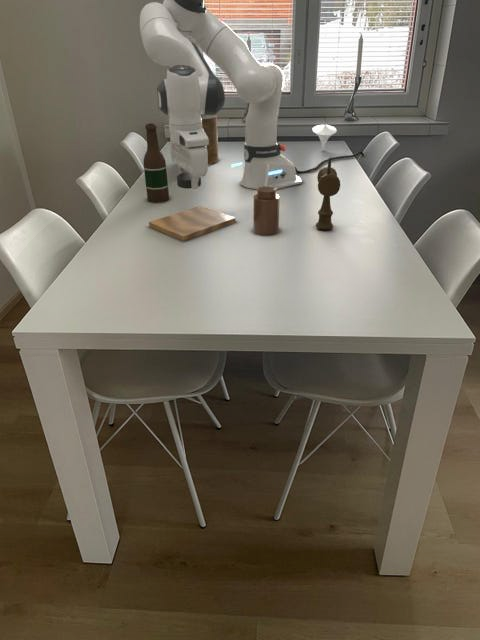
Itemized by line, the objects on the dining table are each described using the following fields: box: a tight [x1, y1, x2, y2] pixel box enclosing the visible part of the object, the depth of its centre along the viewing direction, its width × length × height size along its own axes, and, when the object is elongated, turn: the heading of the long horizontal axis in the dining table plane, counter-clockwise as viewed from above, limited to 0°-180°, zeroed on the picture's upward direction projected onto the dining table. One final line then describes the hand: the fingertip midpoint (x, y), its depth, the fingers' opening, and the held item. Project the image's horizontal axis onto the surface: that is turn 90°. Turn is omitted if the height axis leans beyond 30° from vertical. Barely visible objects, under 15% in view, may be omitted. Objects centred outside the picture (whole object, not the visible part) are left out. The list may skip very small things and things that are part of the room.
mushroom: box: [311, 123, 338, 152], centre depth 220 cm, size 10×11×12 cm
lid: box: [176, 172, 202, 190], centre depth 138 cm, size 7×7×2 cm
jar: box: [252, 186, 280, 236], centre depth 137 cm, size 7×7×12 cm
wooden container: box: [201, 114, 219, 166], centre depth 204 cm, size 15×15×22 cm
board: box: [148, 205, 237, 242], centre depth 145 cm, size 20×16×2 cm
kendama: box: [315, 157, 341, 231], centre depth 136 cm, size 6×10×20 cm, turn 175°
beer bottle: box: [143, 123, 170, 203], centre depth 160 cm, size 8×8×24 cm
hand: (189, 185), depth 139 cm, fingers closed on lid, 6 cm apart
